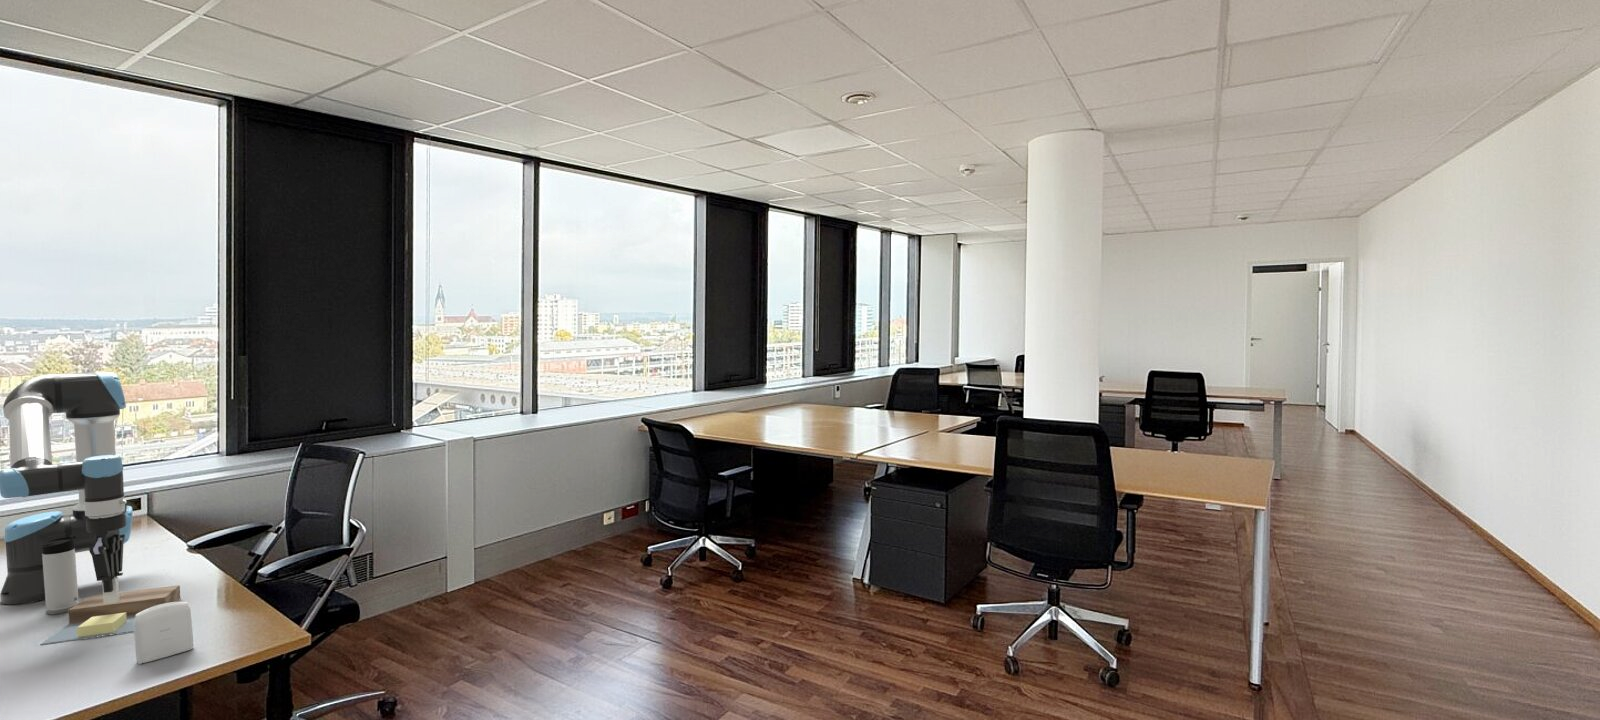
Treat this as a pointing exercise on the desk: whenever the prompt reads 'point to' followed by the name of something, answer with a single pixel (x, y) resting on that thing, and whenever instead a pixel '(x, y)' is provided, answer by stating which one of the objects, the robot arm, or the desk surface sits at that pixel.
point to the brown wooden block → (123, 603)
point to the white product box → (163, 631)
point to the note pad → (101, 624)
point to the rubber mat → (71, 634)
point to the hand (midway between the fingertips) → (111, 602)
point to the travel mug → (60, 575)
